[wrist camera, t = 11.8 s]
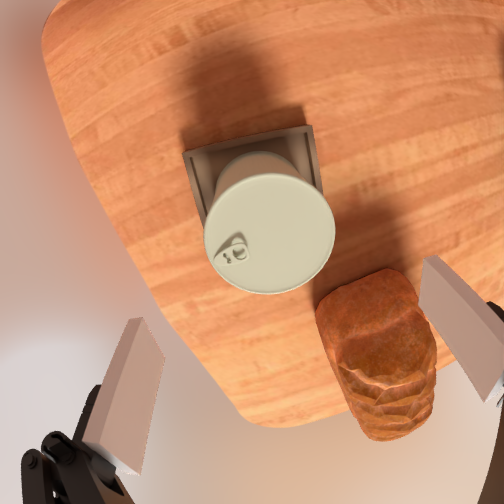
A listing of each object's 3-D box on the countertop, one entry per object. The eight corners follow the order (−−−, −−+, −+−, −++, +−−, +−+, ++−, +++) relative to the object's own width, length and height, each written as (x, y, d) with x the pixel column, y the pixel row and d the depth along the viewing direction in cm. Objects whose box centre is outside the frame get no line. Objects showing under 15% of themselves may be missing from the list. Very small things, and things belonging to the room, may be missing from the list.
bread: (398, 255, 35) (463, 329, 21) (412, 366, 46) (444, 429, 32) (303, 298, 37) (333, 394, 23) (346, 396, 48) (367, 465, 34)
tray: (185, 150, 28) (181, 153, 26) (306, 124, 28) (311, 125, 26) (216, 258, 34) (215, 267, 32) (324, 235, 33) (329, 242, 31)
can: (200, 174, 29) (176, 210, 18) (283, 136, 27) (311, 149, 17) (238, 247, 33) (238, 315, 22) (315, 215, 31) (352, 269, 21)
